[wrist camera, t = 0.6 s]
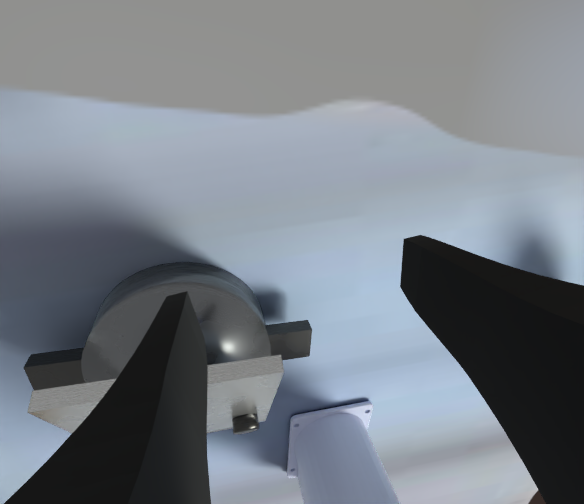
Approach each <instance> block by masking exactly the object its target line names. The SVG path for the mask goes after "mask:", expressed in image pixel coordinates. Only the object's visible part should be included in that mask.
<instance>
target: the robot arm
mask: <svg viewBox="0 0 584 504" xmlns="http://www.w3.org/2000/svg"><path fill="white" fill-rule="evenodd" d="M400 287H401V289H402V290H403V292H404V294H405V296H406V297H407V299H408V301H409V302H410V304H411V305H412V307H413V308H414V310H415V311H416V312H417V314H418V315H419V316H420V317H421V319H422V320H423V321H424V322H425V323H426V325H427V326H428V327H429V328H430V330H431V331H432V332H433V333H434V334H435V335H436V337H437V338H438V339H439V340H440V341H441V343H442V344H443V345H444V346H445V347H446V349H447V350H448V351H449V352H450V353H451V354H452V356H453V357H454V358H455V359H456V360H457V362H458V363H459V364H460V365H461V367H462V368H463V369H464V371H465V372H466V373H467V375H468V376H469V378H470V379H471V380H472V382H473V383H474V385H475V386H476V388H477V389H478V391H479V392H480V394H481V395H482V397H483V398H484V400H485V401H486V403H487V404H488V406H489V407H490V409H491V410H492V412H493V414H494V415H495V417H496V418H497V420H498V421H499V423H500V425H501V426H502V428H503V429H504V431H505V433H506V434H507V436H508V438H509V439H510V441H511V443H512V444H513V446H514V448H515V449H516V451H517V453H518V454H519V456H520V458H521V459H522V461H523V463H524V464H525V466H526V468H527V470H528V471H529V473H530V475H531V477H532V479H533V481H534V482H535V484H536V486H537V488H538V490H539V491H540V493H541V495H542V497H543V499H544V500H545V502H546V504H584V286H583V285H578V284H574V283H569V282H565V281H561V280H557V279H553V278H549V277H545V276H541V275H537V274H534V273H530V272H527V271H523V270H520V269H517V268H514V267H511V266H508V265H504V264H501V263H498V262H496V261H493V260H490V259H487V258H484V257H481V256H478V255H476V254H473V253H470V252H468V251H465V250H462V249H460V248H457V247H454V246H452V245H449V244H446V243H443V242H441V241H438V240H435V239H432V238H429V237H426V236H422V235H419V236H414V237H410V238H406V239H404V244H403V258H402V271H401V285H400ZM207 386H208V366H207V356H206V347H205V338H204V335H203V333H202V330H201V327H200V324H199V322H198V319H197V316H196V313H195V311H194V308H193V305H192V302H191V300H190V297H189V294H188V291H186V292H182V293H178V294H173V295H169V296H167V297H166V298H165V300H164V302H163V303H162V305H161V307H160V309H159V311H158V313H157V314H156V316H155V318H154V320H153V322H152V323H151V325H150V327H149V329H148V330H147V332H146V334H145V335H144V337H143V339H142V340H141V342H140V344H139V345H138V347H137V349H136V350H135V352H134V354H133V355H132V357H131V358H130V360H129V361H128V363H127V364H126V366H125V367H124V369H123V370H122V372H121V373H120V374H119V376H118V377H117V379H116V380H115V382H114V383H113V384H112V386H111V387H110V389H109V390H108V391H107V393H106V394H105V395H104V397H103V398H102V399H101V400H100V402H99V403H98V404H97V405H96V407H95V408H94V409H93V410H92V412H91V413H90V414H89V415H88V416H87V418H86V419H85V420H84V421H83V422H82V423H81V424H80V425H79V427H78V428H77V429H76V430H75V431H74V432H73V433H72V434H71V435H70V437H69V438H68V439H67V440H66V441H65V442H64V443H63V444H62V445H61V447H60V448H59V449H58V450H57V451H56V452H55V453H54V454H53V455H52V456H51V457H50V458H49V460H48V461H47V462H46V463H45V464H44V465H43V466H42V467H41V468H40V469H39V470H38V471H37V472H36V473H35V474H34V475H33V476H32V477H31V478H30V479H29V480H28V481H27V482H26V483H25V484H24V485H23V486H22V487H21V488H20V489H19V490H18V491H17V492H15V493H14V494H13V495H12V496H11V497H10V498H9V499H8V500H7V501H6V502H5V503H4V504H211V500H210V488H209V475H208V463H207ZM372 409H373V404H372V403H371V402H370V401H367V402H361V403H356V404H351V405H345V406H340V407H335V408H330V409H324V410H319V411H314V412H308V413H303V414H298V415H294V416H292V418H291V420H290V434H289V449H288V464H287V476H288V478H295V477H298V480H299V485H300V489H301V493H302V497H303V501H304V504H401V503H400V501H399V499H398V497H397V494H396V492H395V490H394V488H393V486H392V484H391V481H390V479H389V477H388V475H387V473H386V471H385V468H384V466H383V464H382V462H381V460H380V458H379V455H378V453H377V451H376V449H375V447H374V444H373V442H372V440H371V438H370V436H369V434H368V431H367V430H368V426H369V422H370V418H371V413H372Z"/></svg>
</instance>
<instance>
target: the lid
mask: <svg viewBox="0 0 584 504" xmlns="http://www.w3.org/2000/svg"><path fill="white" fill-rule="evenodd" d="M207 366H208V386H207V433H211V432H216V431H221V430H227V429H232V428H233V434H245V433H250V432H253V431H256V430H258V429H259V422H263V421H266V418H267V415H268V413H269V410H270V408H271V405H272V402H273V400H274V397H275V394H276V392H277V389H278V387H279V384H280V381H281V379H282V376H283V374H284V369H283V363H282V358H281V355H275V356H268V357H261V358H254V359H248V360H241V361H234V362H227V363H220V364H213V365H207ZM115 380H116V379H110V380H103V381H97V382H90V383H83V384H76V385H69V386H62V387H55V388H49V389H42V390H35V391H32V395H31V400H30V404H29V408H28V412H27V413H29V414H32V415H34V416H36V417H38V418H40V419H42V420H44V421H47V422H49V423H51V424H53V425H55V426H57V427H59V428H62V429H64V430H66V431H68V432H70V433H73V432H74V431H75V430H76V429H77V428H78V427H79V425H80V424H81V423H82V422H83V421H84V420H85V419H86V418H87V416H88V415H89V414H90V413H91V412H92V410H93V409H94V408H95V407H96V405H97V404H98V403H99V402H100V400H101V399H102V398H103V397H104V395H105V394H106V393H107V391H108V390H109V389H110V387H111V386H112V384H113V383H114V382H115Z"/></svg>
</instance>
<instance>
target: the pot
mask: <svg viewBox="0 0 584 504" xmlns="http://www.w3.org/2000/svg"><path fill="white" fill-rule="evenodd" d="M186 291H188V294H189V297H190V300H191V302H192V305H193V308H194V311H195V313H196V316H197V319H198V322H199V324H200V327H201V330H202V333H203V335H204V338H205V347H206V356H207V365H213V364H220V363H227V362H234V361H241V360H248V359H254V358H261V357H268V356H275V355H281V358H282V360H288V359H294V358H301V357H308V356H309V355H310V345H311V334H312V329H311V326H310V324H309V322H308V320H304V321H296V322H288V323H280V324H272V325H265V321H264V317H263V314H262V310H261V306H260V304H259V301H258V299H257V298H256V296H255V294H254V293H253V291H252V290H251V289H250V288H249V287H248V286H247V285H246V284H245V283H244V282H243V281H241V280H240V279H239V278H237V277H236V276H234V275H232V274H231V273H229V272H226V271H224V270H222V269H219V268H216V267H213V266H209V265H204V264H199V263H188V262H185V263H169V264H162V265H158V266H154V267H151V268H148V269H145V270H142V271H140V272H138V273H136V274H134V275H132V276H130V277H128V278H127V279H125V280H124V281H122V282H121V283H120V284H119V285H117V286H116V287H115V288H114V289H113V290H112V291H111V292H110V293H109V295H108V296H107V297H106V298H105V300H104V302H103V303H102V305H101V307H100V309H99V312H98V314H97V316H96V319H95V321H94V324H93V326H92V329H91V331H90V334H89V336H88V339H87V341H86V344H85V347H84V348H79V349H70V350H62V351H54V352H46V353H38V354H31V355H30V357H29V359H28V361H27V362H26V364H25V366H24V370H25V372H26V374H27V376H28V378H29V381H30V383H31V385H32V387H33V389H34V391H35V390H42V389H49V388H55V387H62V386H69V385H76V384H83V383H90V382H97V381H103V380H110V379H117V377H118V376H119V374H120V373H121V372H122V370H123V369H124V367H125V366H126V364H127V363H128V361H129V360H130V358H131V357H132V355H133V354H134V352H135V350H136V349H137V347H138V345H139V344H140V342H141V340H142V339H143V337H144V335H145V334H146V332H147V330H148V329H149V327H150V325H151V323H152V322H153V320H154V318H155V316H156V314H157V313H158V311H159V309H160V307H161V305H162V303H163V302H164V300H165V298H166V297H167V296H169V295H173V294H178V293H182V292H186Z"/></svg>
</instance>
